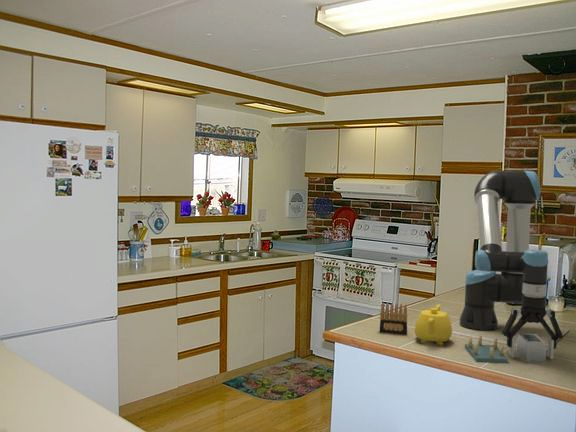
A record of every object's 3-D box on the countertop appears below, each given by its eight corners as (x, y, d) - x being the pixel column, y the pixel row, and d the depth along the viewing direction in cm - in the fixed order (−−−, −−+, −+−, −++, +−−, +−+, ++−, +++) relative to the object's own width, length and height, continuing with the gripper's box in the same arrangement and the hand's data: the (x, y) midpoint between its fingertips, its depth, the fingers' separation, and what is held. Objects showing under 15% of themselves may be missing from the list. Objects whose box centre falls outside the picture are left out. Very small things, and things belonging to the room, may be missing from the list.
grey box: (516, 352, 191) (517, 332, 191) (534, 353, 191) (535, 333, 190) (526, 362, 181) (527, 342, 180) (545, 363, 180) (546, 343, 179)
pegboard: (464, 347, 195) (465, 334, 195) (494, 348, 195) (494, 335, 194) (476, 361, 181) (476, 347, 180) (507, 362, 180) (508, 348, 179)
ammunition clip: (407, 333, 212) (408, 303, 211) (406, 334, 210) (407, 304, 209) (379, 331, 215) (380, 301, 214) (379, 332, 213) (380, 302, 212)
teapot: (454, 335, 210) (456, 304, 209) (448, 350, 192) (449, 316, 191) (420, 331, 215) (421, 300, 215) (410, 345, 197) (411, 311, 196)
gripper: (500, 296, 181) (498, 359, 183) (575, 298, 179) (572, 362, 181) (493, 291, 189) (491, 352, 190) (565, 294, 187) (562, 354, 188)
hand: (530, 357), depth 185 cm, fingers open, 12 cm apart
